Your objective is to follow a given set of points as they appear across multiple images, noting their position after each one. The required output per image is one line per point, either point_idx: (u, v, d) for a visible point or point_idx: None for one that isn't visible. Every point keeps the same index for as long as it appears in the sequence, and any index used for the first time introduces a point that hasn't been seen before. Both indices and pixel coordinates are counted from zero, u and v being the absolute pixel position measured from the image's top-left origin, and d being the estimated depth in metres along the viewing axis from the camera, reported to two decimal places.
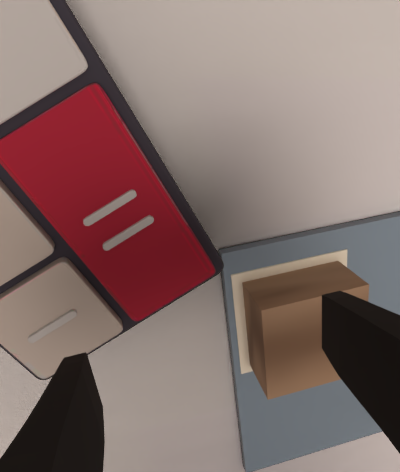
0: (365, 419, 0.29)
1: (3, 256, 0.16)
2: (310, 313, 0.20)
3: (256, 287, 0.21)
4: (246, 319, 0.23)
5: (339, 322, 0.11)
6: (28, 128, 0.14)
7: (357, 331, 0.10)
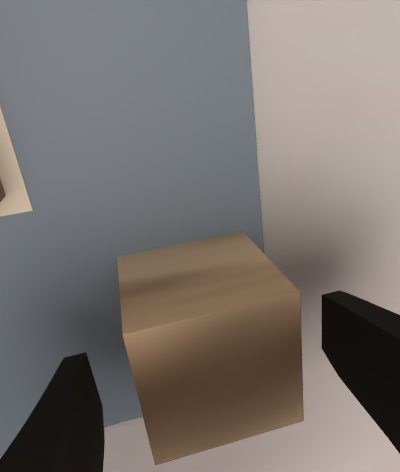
0: None
1: None
2: None
3: None
4: None
5: (339, 322, 0.11)
6: None
7: (357, 331, 0.10)
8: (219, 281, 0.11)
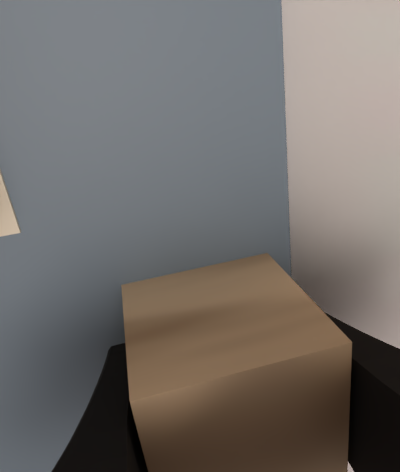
0: None
1: None
2: None
3: None
4: None
5: None
6: None
7: None
8: (247, 323, 0.09)
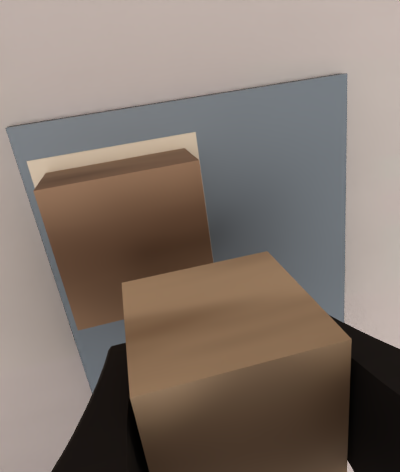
0: None
1: None
2: (115, 200, 0.14)
3: (56, 174, 0.15)
4: None
5: None
6: None
7: None
8: (247, 320, 0.09)
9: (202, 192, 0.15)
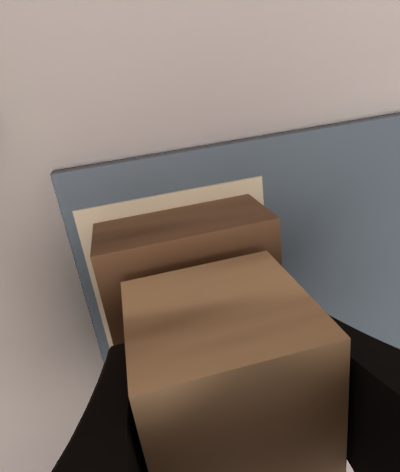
0: None
1: None
2: (182, 265, 0.12)
3: (108, 228, 0.13)
4: None
5: None
6: None
7: None
8: (246, 320, 0.09)
9: (280, 253, 0.13)
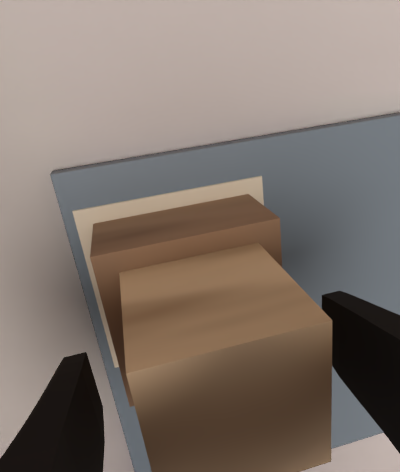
0: None
1: None
2: None
3: (108, 228, 0.13)
4: None
5: (339, 322, 0.11)
6: None
7: (357, 331, 0.10)
8: (236, 305, 0.09)
9: (280, 253, 0.13)
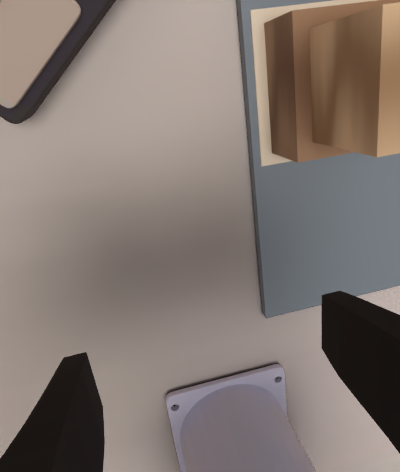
0: None
1: None
2: None
3: None
4: (268, 79, 0.18)
5: (339, 322, 0.11)
6: None
7: (357, 331, 0.10)
8: None
9: None
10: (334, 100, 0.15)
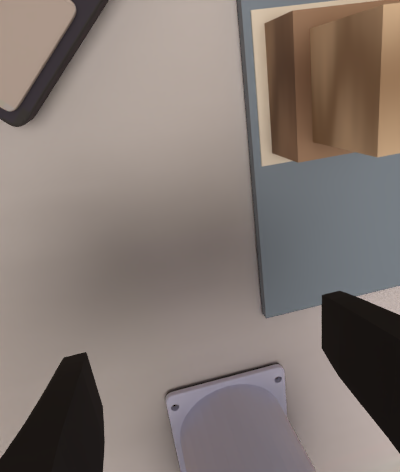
0: None
1: None
2: None
3: None
4: (269, 79, 0.18)
5: (339, 322, 0.11)
6: None
7: (357, 331, 0.10)
8: None
9: None
10: (334, 100, 0.15)
